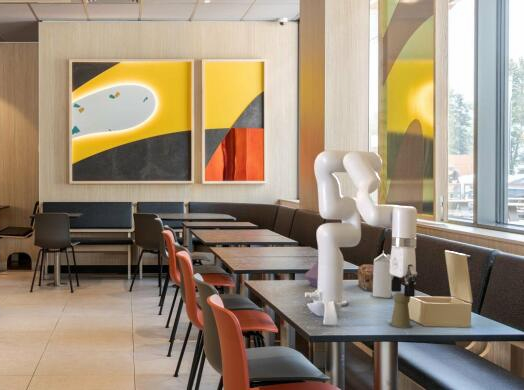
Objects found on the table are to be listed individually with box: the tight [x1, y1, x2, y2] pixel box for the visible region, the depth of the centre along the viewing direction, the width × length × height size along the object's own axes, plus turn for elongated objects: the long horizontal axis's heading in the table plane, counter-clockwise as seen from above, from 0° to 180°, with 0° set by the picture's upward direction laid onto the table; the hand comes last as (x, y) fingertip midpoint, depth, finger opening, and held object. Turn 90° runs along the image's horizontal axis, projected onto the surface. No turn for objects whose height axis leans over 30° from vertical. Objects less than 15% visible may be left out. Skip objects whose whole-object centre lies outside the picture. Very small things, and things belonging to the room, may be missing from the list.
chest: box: [408, 295, 473, 328], centre depth 217 cm, size 16×13×8 cm
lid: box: [444, 249, 474, 304], centre depth 217 cm, size 16×13×5 cm
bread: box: [357, 263, 374, 292], centre depth 283 cm, size 19×11×10 cm, turn 170°
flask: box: [303, 257, 318, 288], centre depth 286 cm, size 16×16×20 cm
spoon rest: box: [306, 301, 342, 326], centre depth 219 cm, size 24×12×7 cm, turn 171°
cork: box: [390, 292, 411, 329], centre depth 211 cm, size 6×6×11 cm
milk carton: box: [372, 250, 392, 299], centre depth 264 cm, size 7×7×19 cm
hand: (402, 293), depth 210 cm, fingers open, 9 cm apart
